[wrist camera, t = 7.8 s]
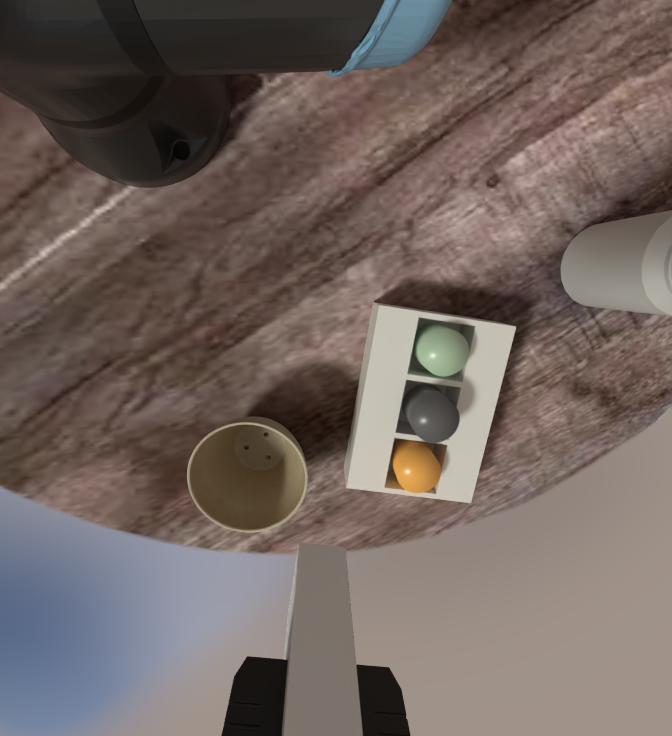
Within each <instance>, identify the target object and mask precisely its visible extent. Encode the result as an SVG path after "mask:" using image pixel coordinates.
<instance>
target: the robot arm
mask: <svg viewBox="0 0 672 736" xmlns="http://www.w3.org/2000/svg"><path fill="white" fill-rule="evenodd" d="M451 2H452V0H0V93H2V94H4V95H6V96H7V97H9V98H11V99H13V100H15V101H16V102H18V103H20V104H22V105H23V106H25V107H27V108H29V109H31V110H32V111H33V112H34V113H35V114H36V115H37V117H38V118H39V119H40V121H41V122H42V124H43V125H44V127H45V128H46V129H47V131H48V132H49V134H50V135H51V136H52V137H53V139H54V140H55V141H56V142H57V143H58V144H59V145H60V146H61V147H62V148H63V149H64V150H65V151H66V152H67V153H68V154H69V155H70V156H72V157H73V158H74V159H75V160H77V161H78V162H79V163H81V164H82V165H84V166H85V167H87V168H89V169H90V170H92V171H94V172H96V173H98V174H100V175H103V176H105V177H107V178H109V179H111V180H113V181H116V182H119V183H122V184H125V185H129V186H134V187H144V188H154V187H162V186H167V185H171V184H174V183H177V182H180V181H182V180H184V179H186V178H188V177H190V176H191V175H193V174H194V173H196V172H197V171H198V170H199V169H201V168H202V167H203V166H204V165H205V164H206V163H207V162H208V161H209V160H210V158H211V157H212V156H213V155H214V153H215V152H216V150H217V149H218V147H219V145H220V143H221V141H222V139H223V137H224V135H225V132H226V129H227V126H228V122H229V118H230V113H231V105H232V86H231V77H230V74H258V73H288V72H319V71H326V73H327V74H328V75H329V76H342V75H344V74H346V73H348V72H350V71H352V70H361V69H372V68H384V67H393V66H397V65H400V64H403V63H405V62H406V61H408V60H409V59H410V58H411V57H412V56H413V55H414V54H415V53H416V52H418V51H420V50H421V49H422V48H423V47H424V46H425V45H426V44H427V43H428V42H429V40H430V39H431V37H432V36H433V35H434V33H435V32H436V30H437V29H438V27H439V25H440V23H441V22H442V20H443V18H444V16H445V14H446V12H447V10H448V8H449V6H450V4H451ZM222 736H410V731H409V726H408V721H407V719H406V711H405V706H404V701H403V695H402V690H401V688H400V686H399V684H398V683H397V681H396V679H395V677H394V675H393V674H392V672H391V670H390V668H389V667H378V666H366V665H356V657H355V646H354V635H353V625H352V614H351V603H350V592H349V582H348V571H347V561H346V549H345V547H338V546H329V545H319V544H310V543H301V542H299V545H298V552H297V559H296V565H295V571H294V578H293V585H292V591H291V598H290V604H289V611H288V620H287V631H286V641H285V651H284V660H282V659H271V658H260V657H247V658H246V659H245V661H244V662H243V664H242V665H241V667H240V669H239V670H238V672H237V673H236V675H235V676H234V680H233V685H232V689H231V694H230V699H229V705H228V708H227V713H226V717H225V722H224V728H223V732H222Z"/></svg>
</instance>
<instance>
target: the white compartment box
mask: <svg viewBox="0 0 672 736" xmlns="http://www.w3.org/2000/svg"><path fill="white" fill-rule="evenodd" d="M427 324H440V325H443V326H445V327H447V328H450V329H452V330H455V331H457V332H459V333H460V334H462V335H463V336H464V337H465V339H466V340H467V343H468V345H469V357H468V360H467V362H466V364H465V366H464V367H463V368H462V369H461V370H460V371H459V372H457V373H455V374H453V375H450V376H437V375H435V374H433V373H431V372H430V371H428V370H427V369H426V368H425V367H424V366H423V365H422V364H420V363H419V362H418V361H417V360H416V359H415V358H414V356H413V354H412V348H413V343H414V338H415V334H416V331H417V330H418V329H420V328H421V327H423V326H425V325H427ZM515 330H516V326H512V325H508V324H504V323H501V322H497V321H491V320H484V319H478V318H472V317H465V316H459V315H453V314H446V313H440V312H434V311H427V310H421V309H415V308H408V307H402V306H396V305H389V304H383V303H377V302H373V305H372V311H371V316H370V322H369V328H368V333H367V339H366V345H365V350H364V356H363V362H362V368H361V373H360V379H359V385H358V390H357V396H356V402H355V407H354V413H353V419H352V424H351V430H350V436H349V441H348V447H347V453H346V458H345V464H344V472H345V480H346V488H352V489H360V490H368V491H377V492H385V493H393V494H401V495H409V496H417V497H425V498H434V499H442V500H450V501H458V502H466V503H471V501H472V497H473V493H474V489H475V485H476V481H477V477H478V473H479V470H480V466H481V462H482V458H483V454H484V450H485V446H486V442H487V439H488V435H489V431H490V427H491V423H492V419H493V415H494V411H495V407H496V404H497V400H498V396H499V392H500V388H501V384H502V380H503V376H504V373H505V369H506V365H507V361H508V357H509V353H510V349H511V345H512V342H513V338H514V334H515ZM422 384H428V385H432V386H434V387H436V388H438V389H439V390H440V391H441V392H442V393H443V394H444V395H445V396H446V397H447V398H448V399H449V400H450V401H451V402H452V403H453V404H454V405H455V406H456V407H457V409H458V411H459V415H460V421H459V426H458V428H457V430H456V432H455V433H454V434H453V435H452V436H451V437H450V438H448V439H447V440H445V441H442V442H438V443H431V442H427V441H424V440H422V439H421V438H419V437H418V436H417V434H416V433H415V431H414V430H413V428H412V427H411V425H410V423H409V422H408V420H407V418H406V417H405V415H404V413H403V408H402V404H403V399H404V397H405V395H406V394H407V393H408V391H409V390H411V389H412V388H414V387H415V386H418V385H422ZM398 438H399V439H407V440H414V441H422V442H426V443H427V444H428V446H429V448H430V449H431V451H432V452H433V454H434V455H435V457H436V459H437V460H438V462H439V464H440V467H441V476H440V479H439V481H438V483H437V484H436V485H435V486H434V487H433V488H432V489H430V490H428V491H426V492H423V493H412V492H409V491H407V490H405V489H404V488H403V487H402V486H401V485H400V484H399V482H398V480H397V477H396V474H395V472H394V469H393V466H392V464H391V461H390V457H391V452H392V447H393V442H394V441H395V440H396V439H398Z"/></svg>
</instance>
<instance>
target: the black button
mask: <svg viewBox="0 0 672 736" xmlns="http://www.w3.org/2000/svg"><path fill="white" fill-rule="evenodd" d="M402 408H403V413H404V415H405V417H406V418H407V420H408V422H409V423H410V425H411V427H412V428H413V430H414V431H415V433H416V434H417V436H418V437H419V438H421V439H422V440H424V441H427V442H431V443H438V442H442V441H445V440H447V439H448V438H450V437H451V436H452V435H453V434H454V433H455V432H456V430H457V428H458V426H459V421H460V415H459V411H458V409H457V407H456V406H455V405H454V404H453V403H452V402H451V401H450V400H449V399H448V398H447V397H446V396H445V395H444V394H443V393H442V392H441V391H440V390H439V389H438V388H436V387H434V386H432V385H428V384H422V385H418V386H415V387H414V388H412V389H411V390H409V391H408V393H407V394H406V395H405V397H404V399H403V404H402Z"/></svg>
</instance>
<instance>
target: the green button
mask: <svg viewBox="0 0 672 736" xmlns="http://www.w3.org/2000/svg"><path fill="white" fill-rule="evenodd" d="M412 354H413V356H414V358H415V359H416V360H417V361H418V362H419V363H420V364H422V365H423V366H424V367H425V368H426V369H427V370H428V371H430V372H431V373H433V374H435V375H437V376H450V375H453V374H455V373H457V372H459V371H460V370H461V369H462V368H463V367H464V366H465V364H466V362H467V360H468V357H469V345H468V343H467V340H466V339H465V337H464V336H463V335H462V334H460V333H459V332H457V331H455V330H452V329H450V328H447V327H445V326H443V325H440V324H427V325H425V326H423V327H421V328H420V329H418V330H417V331H416V334H415V338H414V343H413V348H412Z"/></svg>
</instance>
